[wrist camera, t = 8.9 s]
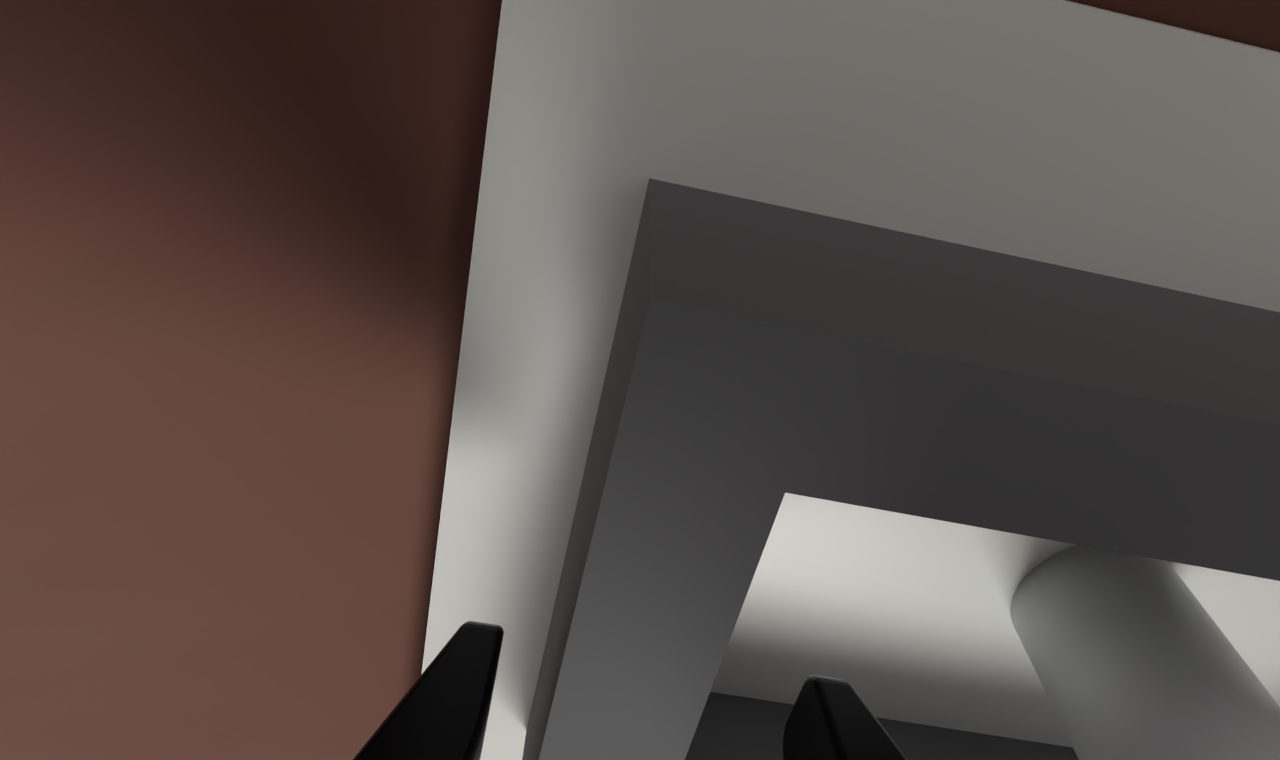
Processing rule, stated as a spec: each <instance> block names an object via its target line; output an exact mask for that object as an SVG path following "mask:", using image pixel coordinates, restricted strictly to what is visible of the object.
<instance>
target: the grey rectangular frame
mask: <svg viewBox="0 0 1280 760" xmlns="http://www.w3.org/2000/svg"><path fill="white" fill-rule="evenodd" d="M785 493H790V494H796V495H801V496H807V497H813V498H818V499H824V500H829V501H835V502H841V503H846V504H852V505H857V506H863V507H869V508H874V509H880V510H885V511H891V512H896V513H902V514H908V515H913V516H919V517H924V518H930V519H936V520H941V521H947V522H952V523H958V524H964V525H969V526H975V527H980V528H986V529H991V530H997V531H1003V532H1008V533H1014V534H1019V535H1025V536H1031V537H1036V538H1042V539H1047V540H1053V541H1059V542H1064V543H1070V544H1075V545H1081V546H1087V547H1092V548H1098V549H1103V550H1109V551H1114V552H1120V553H1126V554H1131V555H1137V556H1142V557H1148V558H1154V559H1159V560H1165V561H1170V562H1176V563H1182V564H1187V565H1193V566H1198V567H1204V568H1210V569H1215V570H1221V571H1226V572H1232V573H1237V574H1243V575H1249V576H1254V577H1260V578H1265V579H1271V580H1277V581H1280V312H1276V311H1271V310H1266V309H1262V308H1257V307H1252V306H1248V305H1243V304H1238V303H1233V302H1229V301H1224V300H1219V299H1215V298H1210V297H1205V296H1201V295H1196V294H1191V293H1186V292H1182V291H1177V290H1172V289H1168V288H1163V287H1158V286H1154V285H1149V284H1144V283H1139V282H1135V281H1130V280H1125V279H1121V278H1116V277H1111V276H1107V275H1102V274H1097V273H1092V272H1088V271H1083V270H1078V269H1074V268H1069V267H1064V266H1060V265H1055V264H1050V263H1045V262H1041V261H1036V260H1031V259H1027V258H1022V257H1017V256H1013V255H1008V254H1003V253H998V252H994V251H989V250H984V249H980V248H975V247H970V246H966V245H961V244H956V243H951V242H947V241H942V240H937V239H933V238H928V237H923V236H919V235H914V234H909V233H904V232H900V231H895V230H890V229H886V228H881V227H876V226H872V225H867V224H862V223H857V222H853V221H848V220H843V219H839V218H834V217H829V216H825V215H820V214H815V213H810V212H806V211H801V210H796V209H792V208H787V207H782V206H778V205H773V204H768V203H763V202H759V201H754V200H749V199H745V198H740V197H735V196H731V195H726V194H721V193H716V192H712V191H707V190H702V189H698V188H693V187H688V186H684V185H679V184H674V183H669V182H665V181H660V180H655V179H651V178H649V182H648V186H647V191H646V195H645V200H644V204H643V209H642V213H641V218H640V222H639V227H638V231H637V236H636V240H635V245H634V249H633V254H632V258H631V263H630V267H629V272H628V276H627V281H626V285H625V290H624V294H623V299H622V303H621V308H620V312H619V317H618V321H617V326H616V330H615V335H614V339H613V343H612V348H611V352H610V357H609V361H608V366H607V370H606V375H605V379H604V384H603V388H602V393H601V397H600V402H599V406H598V411H597V415H596V420H595V424H594V429H593V433H592V438H591V442H590V447H589V451H588V456H587V460H586V465H585V469H584V474H583V478H582V483H581V487H580V492H579V496H578V501H577V505H576V510H575V514H574V519H573V523H572V528H571V532H570V537H569V541H568V546H567V550H566V555H565V559H564V564H563V568H562V573H561V577H560V582H559V586H558V591H557V595H556V600H555V604H554V609H553V613H552V618H551V622H550V627H549V631H548V636H547V640H546V645H545V649H544V654H543V658H542V663H541V667H540V672H539V676H538V681H537V685H536V690H535V694H534V699H533V703H532V708H531V712H530V717H529V721H528V726H527V730H526V737H525V744H524V751H523V757H522V760H783V735H784V729H785V725H786V722H787V719H788V717H789V715H790V713H791V711H792V708H793V706H794V705H793V704H786V703H780V702H773V701H767V700H760V699H754V698H747V697H741V696H734V695H728V694H721V693H715V692H710V691H711V688H712V686H713V683H714V680H715V678H716V675H717V672H718V670H719V667H720V664H721V662H722V659H723V657H724V654H725V651H726V649H727V646H728V643H729V641H730V638H731V635H732V633H733V630H734V627H735V625H736V622H737V619H738V617H739V614H740V611H741V609H742V606H743V603H744V601H745V598H746V595H747V593H748V590H749V587H750V585H751V582H752V579H753V577H754V574H755V571H756V569H757V566H758V563H759V561H760V558H761V555H762V553H763V550H764V548H765V545H766V542H767V540H768V537H769V534H770V532H771V529H772V526H773V524H774V521H775V518H776V516H777V513H778V510H779V508H780V505H781V502H782V500H783V497H784V494H785ZM876 719H877V720H878V721H879V723H880V724H881V725H882V727H883V728H884V729H885V731H886V732H887V733H888V735H889V736H890V737H891V739H892V740H893V741H894V743H895V744H896V745H897V747H898V748H899V749H900V751H901V752H902V753H903V755H904V756H905V757H906V759H907V760H1079V759H1078V757H1077V755H1076V753H1075V751H1074V749H1073V748H1072V747H1066V746H1059V745H1053V744H1046V743H1040V742H1033V741H1027V740H1020V739H1014V738H1007V737H1001V736H994V735H988V734H981V733H975V732H968V731H962V730H955V729H949V728H942V727H936V726H929V725H923V724H916V723H910V722H903V721H897V720H890V719H884V718H877V717H876Z"/></svg>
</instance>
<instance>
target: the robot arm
mask: <svg viewBox="0 0 1280 760" xmlns="http://www.w3.org/2000/svg"><path fill="white" fill-rule="evenodd" d="M503 635H504V631H503V628H502V627H501V626H499V625H495V624H488V623H482V622H475V621H467V622H465V623H464V624H463V625H461V627H460V628H459V629H458V630H457V631H456V633H455V634H454V635H453V636H452V638H451V639H450V640H449V641H448V642H447V644H446V645H445V646H444V647H443V649H442V650H441V651H440V652H439V654H438V655H437V656H436V657H435V659H434V660H433V661H432V662H431V664H430V665H429V666H428V667H427V668H426V670H425V671H424V672H423V673H422V675H421V676H420V677H419V678H418V680H417V681H416V682H415V683H414V685H413V686H412V687H411V688H410V689H409V691H408V692H407V693H406V694H405V696H404V697H403V698H402V699H401V701H400V702H399V703H398V704H397V706H396V707H395V708H394V709H393V711H392V712H391V713H390V714H389V715H388V717H387V718H386V719H385V720H384V722H383V723H382V724H381V725H380V727H379V728H378V729H377V730H376V732H375V733H374V734H373V735H372V737H371V738H370V739H369V740H368V741H367V743H366V744H365V745H364V746H363V748H362V749H361V750H360V751H359V753H358V754H357V755H356V756H355V758H354V759H353V760H480V757H481V752H482V747H483V742H484V736H485V731H486V726H487V721H488V715H489V710H490V705H491V700H492V694H493V689H494V684H495V679H496V673H497V668H498V662H499V657H500V652H501V646H502V641H503ZM783 760H907V759H906V757H905V756H904V755H903V753H902V752H901V751H900V749H899V748H898V747H897V745H896V744H895V743H894V741H893V740H892V739H891V737H890V736H889V735H888V733H887V732H886V731H885V729H884V728H883V727H882V725H881V724H880V723H879V721H878V720H877V719H876V717H875V716H874V715H873V713H872V712H871V711H870V709H869V708H868V707H867V705H866V704H865V703H864V701H863V700H862V699H861V697H860V696H859V695H858V693H857V692H856V691H855V689H854V688H853V687H852V686H851V685H850V684H849V683H848V682H847V681H845V680H843V679H839V678H833V677H826V676H820V675H811V676H810V677H808V678H807V679H806V681H805V682H804V684H803V686H802V689H801V691H800V693H799V695H798V697H797V700H796V702H795V704H794V706H793V708H792V711H791V713H790V715H789V717H788V719H787V722H786V725H785V729H784V735H783Z"/></svg>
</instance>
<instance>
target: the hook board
mask: <svg viewBox="0 0 1280 760" xmlns="http://www.w3.org/2000/svg"><path fill="white" fill-rule="evenodd" d="M649 178H651V179H655V180H660V181H665V182H669V183H674V184H679V185H684V186H688V187H693V188H698V189H702V190H707V191H712V192H716V193H721V194H726V195H731V196H735V197H740V198H745V199H749V200H754V201H759V202H763V203H768V204H773V205H778V206H782V207H787V208H792V209H796V210H801V211H806V212H810V213H815V214H820V215H825V216H829V217H834V218H839V219H843V220H848V221H853V222H857V223H862V224H867V225H872V226H876V227H881V228H886V229H890V230H895V231H900V232H904V233H909V234H914V235H919V236H923V237H928V238H933V239H937V240H942V241H947V242H951V243H956V244H961V245H966V246H970V247H975V248H980V249H984V250H989V251H994V252H998V253H1003V254H1008V255H1013V256H1017V257H1022V258H1027V259H1031V260H1036V261H1041V262H1045V263H1050V264H1055V265H1060V266H1064V267H1069V268H1074V269H1078V270H1083V271H1088V272H1092V273H1097V274H1102V275H1107V276H1111V277H1116V278H1121V279H1125V280H1130V281H1135V282H1139V283H1144V284H1149V285H1154V286H1158V287H1163V288H1168V289H1172V290H1177V291H1182V292H1186V293H1191V294H1196V295H1201V296H1205V297H1210V298H1215V299H1219V300H1224V301H1229V302H1233V303H1238V304H1243V305H1248V306H1252V307H1257V308H1262V309H1266V310H1271V311H1276V312H1280V52H1277V51H1272V50H1268V49H1264V48H1260V47H1256V46H1252V45H1248V44H1244V43H1240V42H1236V41H1232V40H1227V39H1223V38H1219V37H1215V36H1211V35H1207V34H1203V33H1199V32H1195V31H1191V30H1187V29H1183V28H1178V27H1174V26H1170V25H1166V24H1162V23H1158V22H1154V21H1150V20H1146V19H1142V18H1138V17H1133V16H1129V15H1125V14H1121V13H1117V12H1113V11H1109V10H1105V9H1101V8H1097V7H1093V6H1088V5H1084V4H1080V3H1076V2H1072V1H1068V0H502V5H501V14H500V22H499V30H498V39H497V47H496V55H495V64H494V72H493V80H492V89H491V97H490V105H489V114H488V122H487V131H486V139H485V147H484V156H483V164H482V172H481V181H480V189H479V197H478V206H477V214H476V222H475V231H474V239H473V247H472V256H471V264H470V272H469V281H468V289H467V298H466V306H465V314H464V323H463V331H462V339H461V348H460V356H459V364H458V373H457V381H456V389H455V398H454V406H453V414H452V423H451V431H450V439H449V448H448V456H447V465H446V473H445V481H444V490H443V498H442V506H441V515H440V523H439V531H438V540H437V548H436V556H435V565H434V573H433V581H432V590H431V598H430V606H429V615H428V623H427V631H426V640H425V648H424V657H423V665H422V673H423V672H424V671H425V670H426V668H427V667H428V666H429V665H430V664H431V662H432V661H433V660H434V659H435V657H436V656H437V655H438V654H439V652H440V651H441V650H442V649H443V647H444V646H445V645H446V644H447V642H448V641H449V640H450V639H451V638H452V636H453V635H454V634H455V633H456V631H457V630H458V629H459V628H460V627H461V625H463V624H464V623H465V622H467V621H475V622H482V623H488V624H495V625H499V626H501V627H502V628H503V631H504V635H503V641H502V646H501V652H500V657H499V662H498V668H497V673H496V679H495V684H494V689H493V694H492V700H491V705H490V710H489V715H488V721H487V726H486V731H485V736H484V742H483V747H482V752H481V757H480V760H522V757H523V751H524V744H525V737H526V730H527V726H528V721H529V717H530V712H531V708H532V703H533V699H534V694H535V690H536V685H537V681H538V676H539V672H540V667H541V663H542V658H543V654H544V649H545V645H546V640H547V636H548V631H549V627H550V622H551V618H552V613H553V609H554V604H555V600H556V595H557V591H558V586H559V582H560V577H561V573H562V568H563V564H564V559H565V555H566V550H567V546H568V541H569V537H570V532H571V528H572V523H573V519H574V514H575V510H576V505H577V501H578V496H579V492H580V487H581V483H582V478H583V474H584V469H585V465H586V460H587V456H588V451H589V447H590V442H591V438H592V433H593V429H594V424H595V420H596V415H597V411H598V406H599V402H600V397H601V393H602V388H603V384H604V379H605V375H606V370H607V366H608V361H609V357H610V352H611V348H612V343H613V339H614V335H615V330H616V326H617V321H618V317H619V312H620V308H621V303H622V299H623V294H624V290H625V285H626V281H627V276H628V272H629V267H630V263H631V258H632V254H633V249H634V245H635V240H636V236H637V231H638V227H639V222H640V218H641V213H642V209H643V204H644V200H645V195H646V191H647V186H648V182H649ZM422 673H421V675H422ZM811 675H820V676H826V677H833V678H839V679H843V680H845V681H847V682H848V683H849V684H850V685H851V686H852V687H853V688H854V689H855V691H856V692H857V693H858V695H859V696H860V697H861V699H862V700H863V701H864V703H865V704H866V705H867V707H868V708H869V709H870V711H871V712H872V713H873V715H874V716H875V717H877V718H884V719H890V720H897V721H903V722H910V723H916V724H923V725H929V726H936V727H942V728H949V729H955V730H962V731H968V732H975V733H981V734H988V735H994V736H1001V737H1007V738H1014V739H1020V740H1027V741H1033V742H1040V743H1046V744H1053V745H1059V746H1066V747H1072V748H1073V749H1074V751H1075V753H1076V755H1077V757H1078V759H1079V760H1280V581H1277V580H1271V579H1265V578H1260V577H1254V576H1249V575H1243V574H1237V573H1232V572H1226V571H1221V570H1215V569H1210V568H1204V567H1198V566H1193V565H1187V564H1182V563H1176V562H1170V561H1165V560H1159V559H1154V558H1148V557H1142V556H1137V555H1131V554H1126V553H1120V552H1114V551H1109V550H1103V549H1098V548H1092V547H1087V546H1081V545H1075V544H1070V543H1064V542H1059V541H1053V540H1047V539H1042V538H1036V537H1031V536H1025V535H1019V534H1014V533H1008V532H1003V531H997V530H991V529H986V528H980V527H975V526H969V525H964V524H958V523H952V522H947V521H941V520H936V519H930V518H924V517H919V516H913V515H908V514H902V513H896V512H891V511H885V510H880V509H874V508H869V507H863V506H857V505H852V504H846V503H841V502H835V501H829V500H824V499H818V498H813V497H807V496H801V495H796V494H790V493H785V494H784V497H783V500H782V502H781V505H780V508H779V510H778V513H777V516H776V518H775V521H774V524H773V526H772V529H771V532H770V534H769V537H768V540H767V542H766V545H765V548H764V550H763V553H762V555H761V558H760V561H759V563H758V566H757V569H756V571H755V574H754V577H753V579H752V582H751V585H750V587H749V590H748V593H747V595H746V598H745V601H744V603H743V606H742V609H741V611H740V614H739V617H738V619H737V622H736V625H735V627H734V630H733V633H732V635H731V638H730V641H729V643H728V646H727V649H726V651H725V654H724V657H723V659H722V662H721V664H720V667H719V670H718V672H717V675H716V678H715V680H714V683H713V686H712V688H711V691H710V692H715V693H721V694H728V695H734V696H741V697H747V698H754V699H760V700H767V701H773V702H780V703H786V704H793V705H794V704H795V702H796V700H797V697H798V695H799V693H800V691H801V689H802V686H803V684H804V682H805V681H806V679H807V678H808V677H810V676H811Z"/></svg>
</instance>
